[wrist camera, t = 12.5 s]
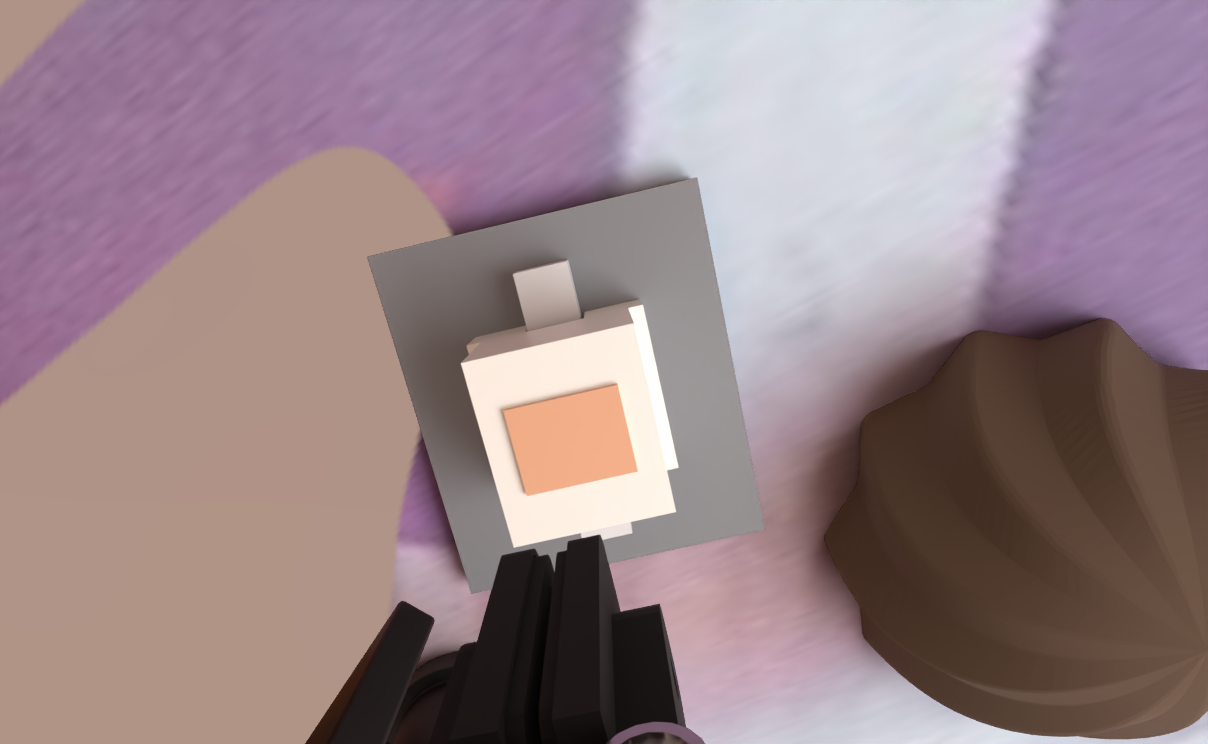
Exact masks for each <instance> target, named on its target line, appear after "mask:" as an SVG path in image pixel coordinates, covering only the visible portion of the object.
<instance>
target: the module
mask: <svg viewBox="0 0 1208 744" xmlns="http://www.w3.org/2000/svg"><path fill="white" fill-rule="evenodd" d="M467 350H468V353H469V355H468V356H467V357H466V358H465V359H464V360H463V361H462V363H461V366H462V369H463V373H464V376H465V380H466V383H467V387H468V390H469V394H470V397H471V400H472V404H473V407H474V411H475V414H476V418H477V421H478V425H479V428H480V432H481V435H482V439H483V442H484V446H485V449H486V453H487V456H488V460H489V463H490V467H491V470H492V474H493V477H494V481H495V484H496V487H497V491H498V494H499V498H500V501H501V505H502V508H503V512H504V515H505V519H506V522H507V526H508V529H509V533H510V536H511V540H512V543H513V547H514V548H515V547H520V546H524V545H529V544H533V543H538V542H542V541H547V540H551V539H556V538H560V537H565V536H570V535H574V534H579V533H583V532H588V531H592V530H597V529H601V528H606V527H610V526H615V525H620V524H624V523H629V522H633V521H638V520H642V519H647V518H651V517H656V516H660V515H665V514H669V513H674V512H676V509H675V504H674V500H673V495H672V491H671V486H670V482H669V477H668V473H667V470H671V469H675V468H679V467H678V462H677V458H676V453H675V449H674V444H673V439H672V435H671V430H670V426H669V421H668V417H667V412H666V407H665V403H664V398H663V394H662V389H661V385H660V380H659V376H658V371H657V366H656V362H655V357H654V353H653V348H652V344H651V339H650V334H649V330H648V325H647V321H646V316H645V312H644V307H643V304H642V302H641V301H640V299H637V300H633V301H629V302H625V303H620V304H616V305H612V306H607V307H603V308H599V309H595V310H590V311H586V312H584V319H579V320H575V321H571V322H566V323H562V324H558V325H553V326H549V327H545V328H541V329H536V330H532V331H527V327H526V326H522V327H517V328H513V329H509V330H504V331H500V332H496V333H492V334H487V335H483V336H479V337H475V338H474V339H473V340H472V341H471V342H470V343H469V344H468V345H467Z"/></svg>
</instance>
